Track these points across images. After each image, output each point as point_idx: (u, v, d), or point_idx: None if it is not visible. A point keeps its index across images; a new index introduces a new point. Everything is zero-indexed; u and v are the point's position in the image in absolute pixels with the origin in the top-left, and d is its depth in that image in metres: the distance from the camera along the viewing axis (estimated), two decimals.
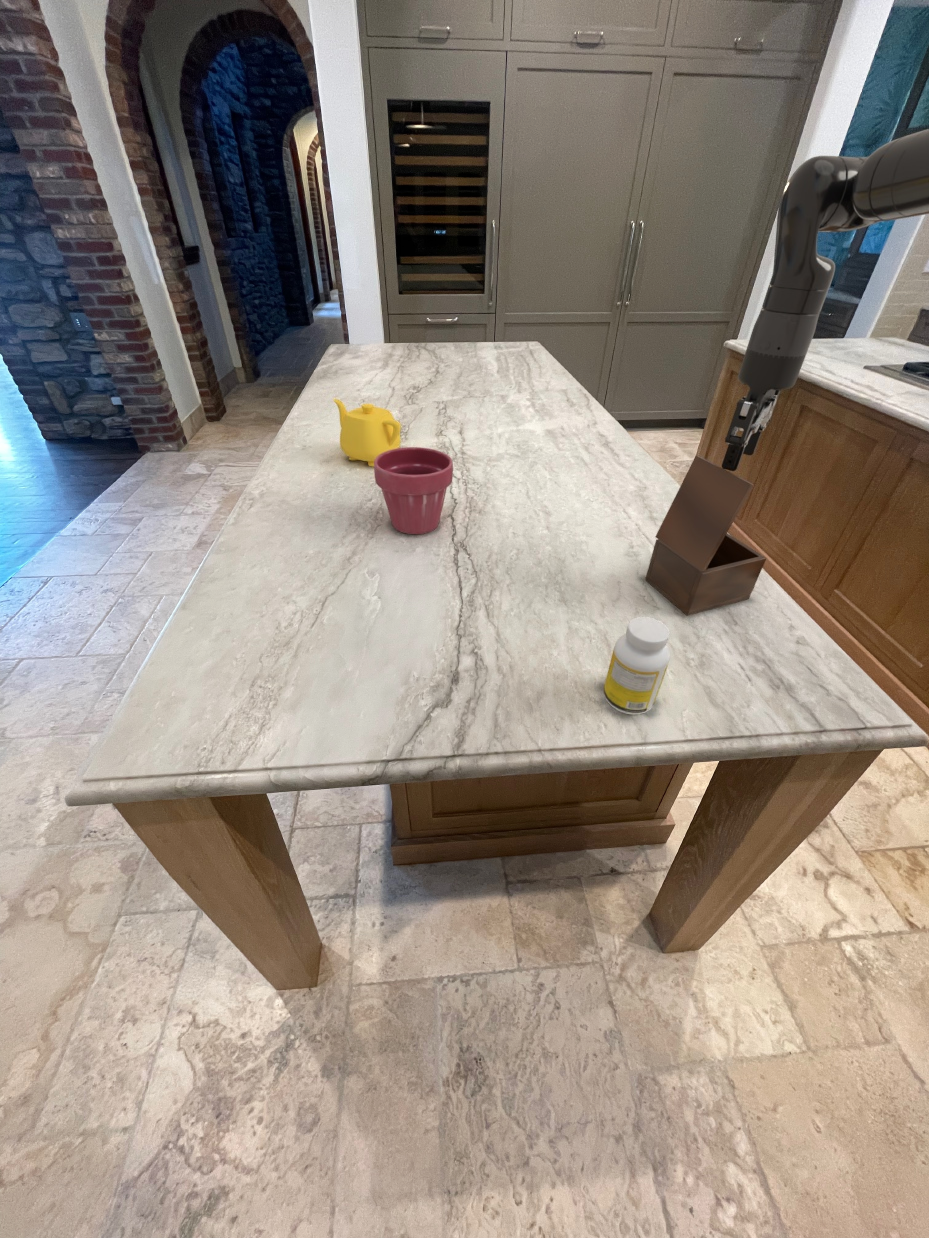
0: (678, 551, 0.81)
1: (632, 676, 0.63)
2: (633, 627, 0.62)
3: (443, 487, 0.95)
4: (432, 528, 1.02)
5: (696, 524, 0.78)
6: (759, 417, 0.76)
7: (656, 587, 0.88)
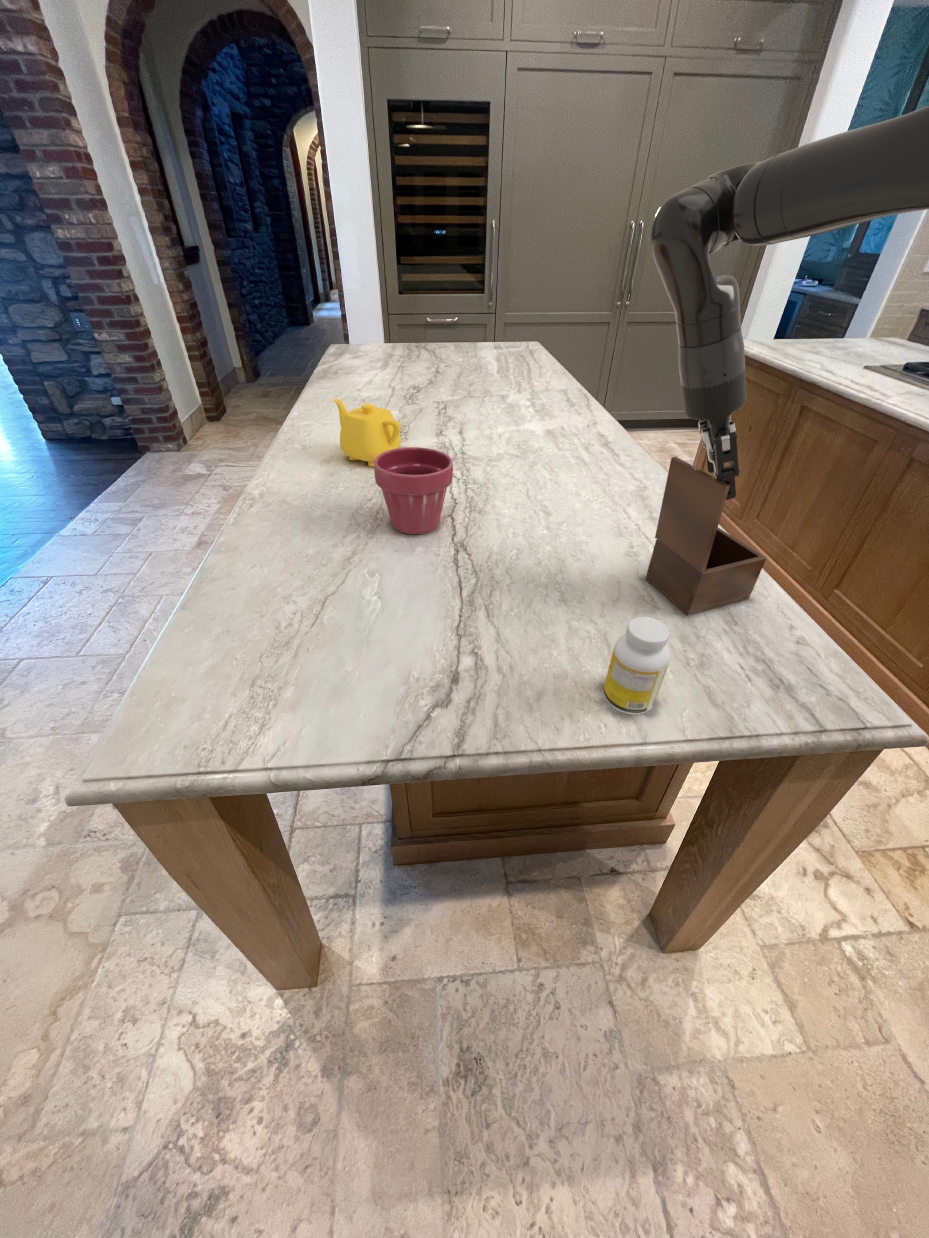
0: (677, 552, 0.81)
1: (632, 676, 0.63)
2: (633, 627, 0.62)
3: (443, 487, 0.95)
4: (432, 528, 1.02)
5: (687, 526, 0.78)
6: None
7: (656, 587, 0.88)
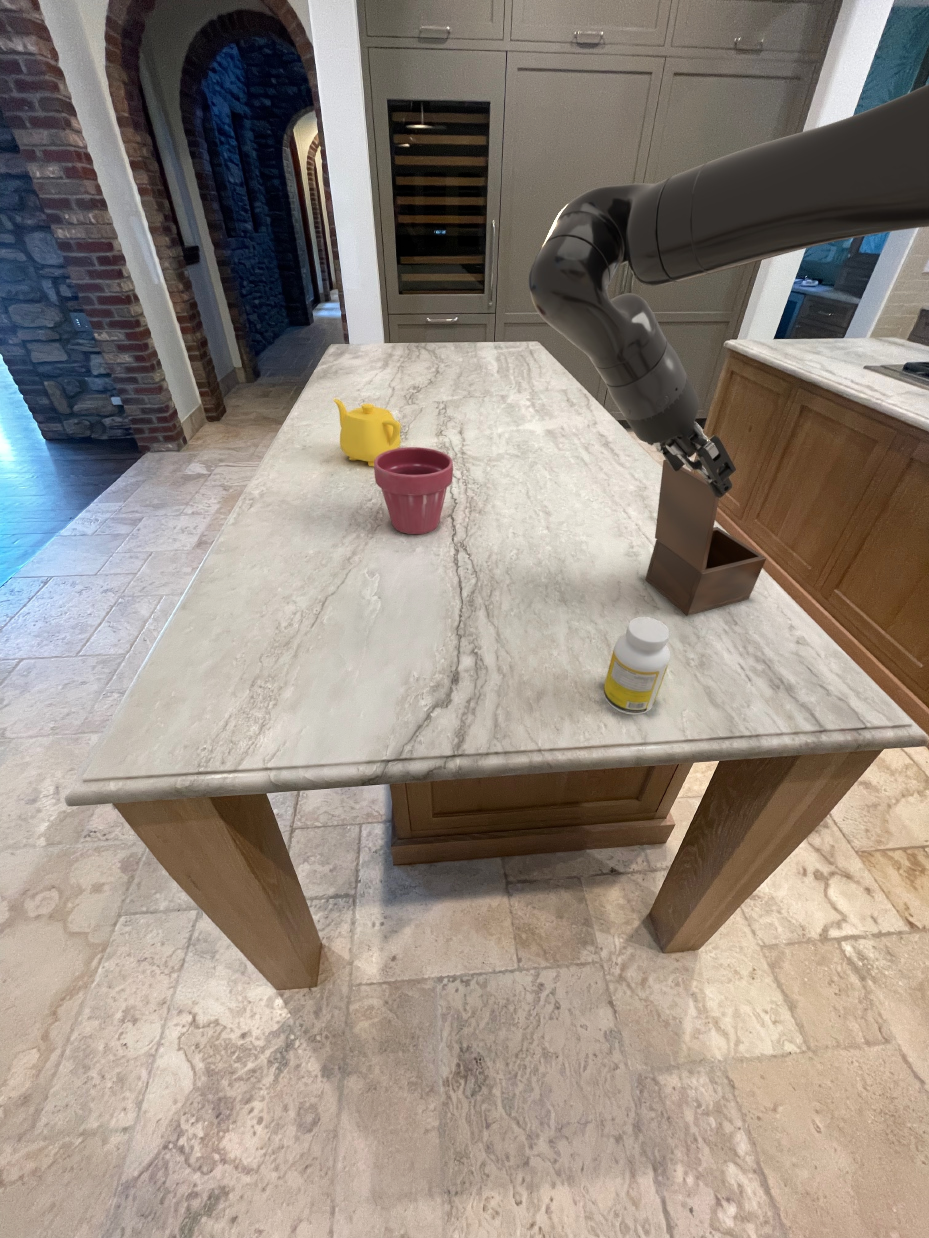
0: (677, 552, 0.81)
1: (632, 676, 0.63)
2: (633, 627, 0.62)
3: (443, 487, 0.95)
4: (432, 528, 1.02)
5: (683, 527, 0.78)
6: (705, 439, 0.62)
7: (656, 587, 0.88)
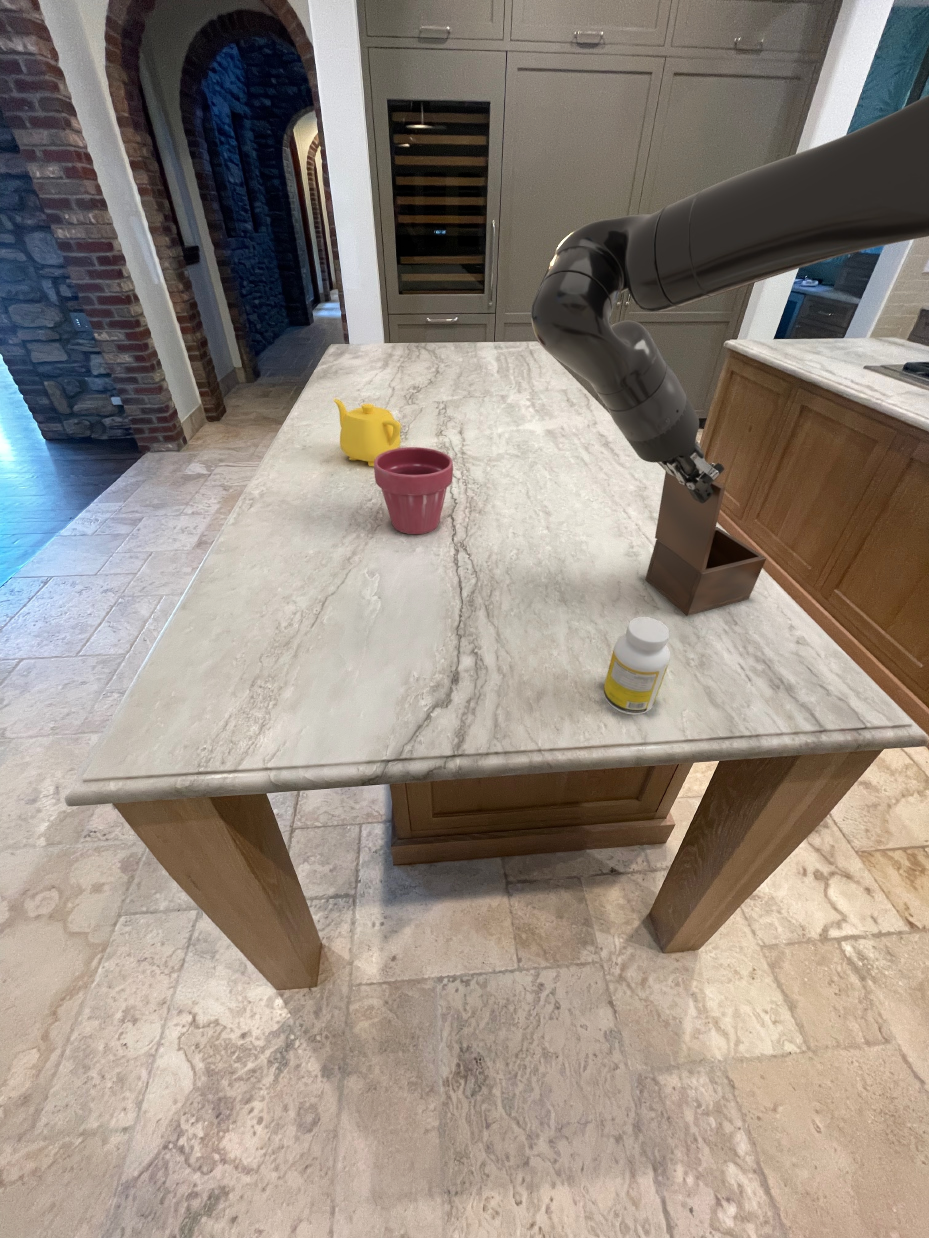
0: (677, 552, 0.81)
1: (632, 676, 0.63)
2: (633, 627, 0.62)
3: (443, 487, 0.95)
4: (432, 528, 1.02)
5: (685, 526, 0.78)
6: None
7: (656, 587, 0.88)
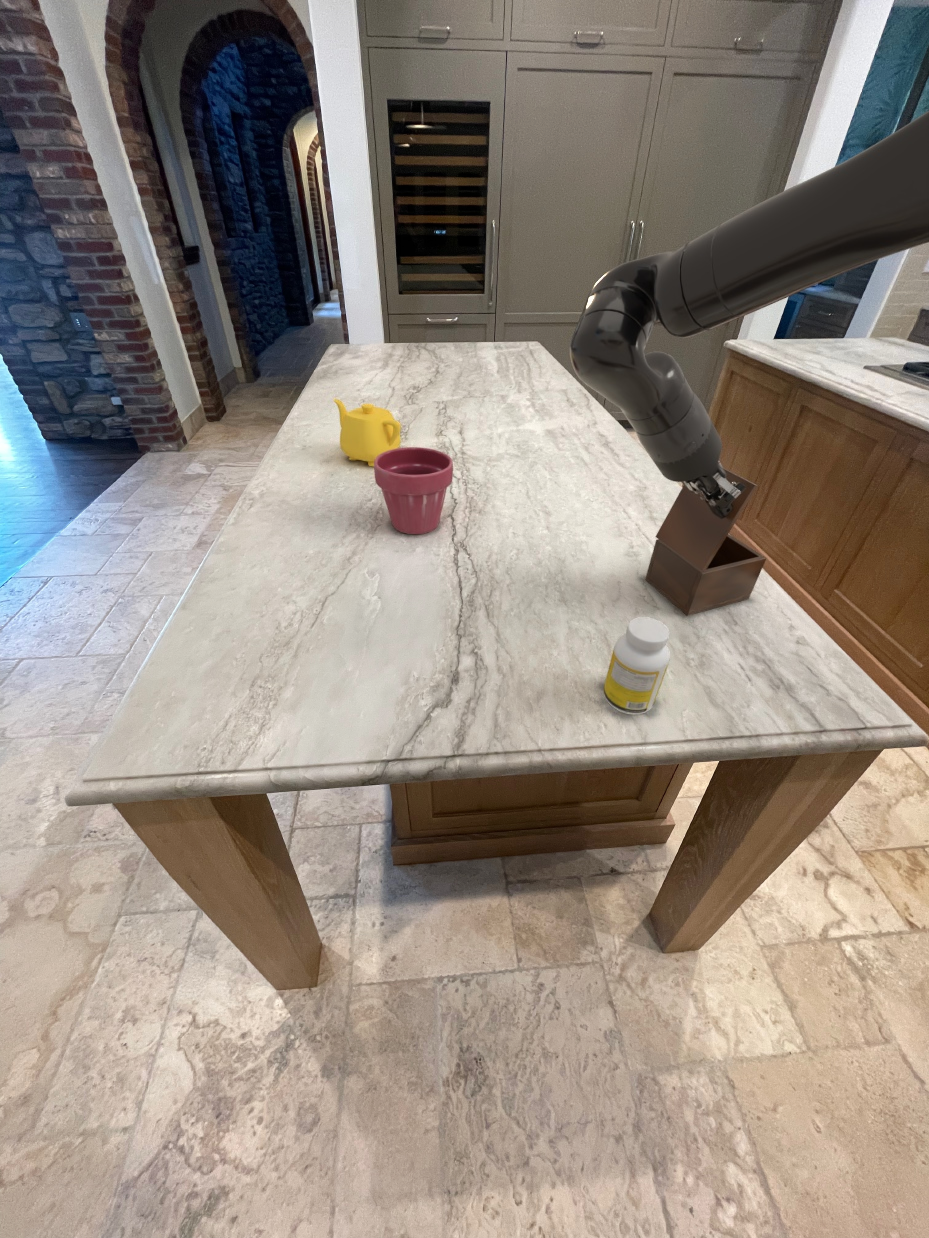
0: (678, 551, 0.81)
1: (632, 676, 0.63)
2: (633, 627, 0.62)
3: (443, 487, 0.95)
4: (432, 528, 1.02)
5: (698, 524, 0.79)
6: None
7: (656, 587, 0.88)
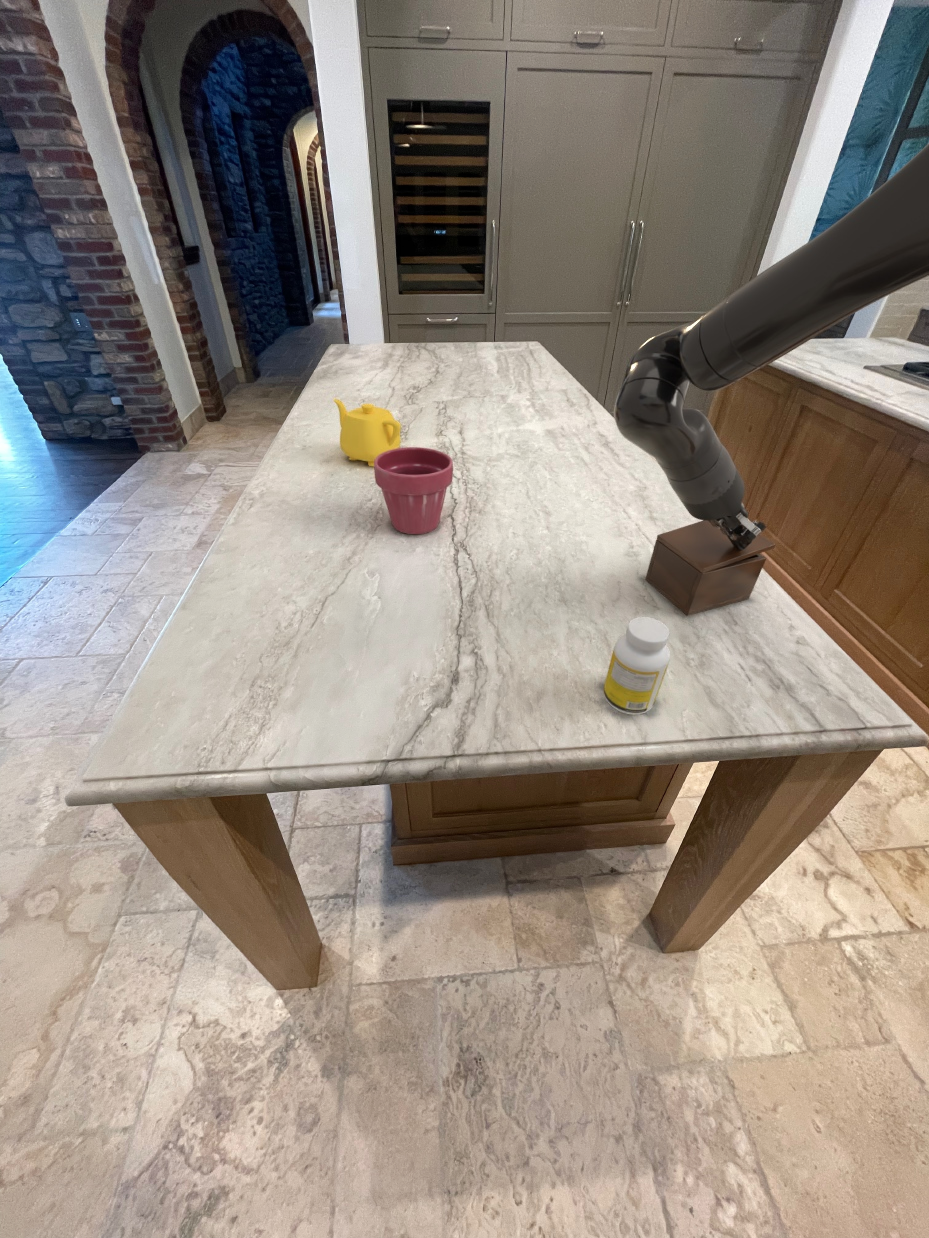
0: (681, 550, 0.81)
1: (632, 676, 0.63)
2: (633, 627, 0.62)
3: (443, 487, 0.95)
4: (432, 528, 1.02)
5: (709, 544, 0.82)
6: None
7: (656, 587, 0.88)
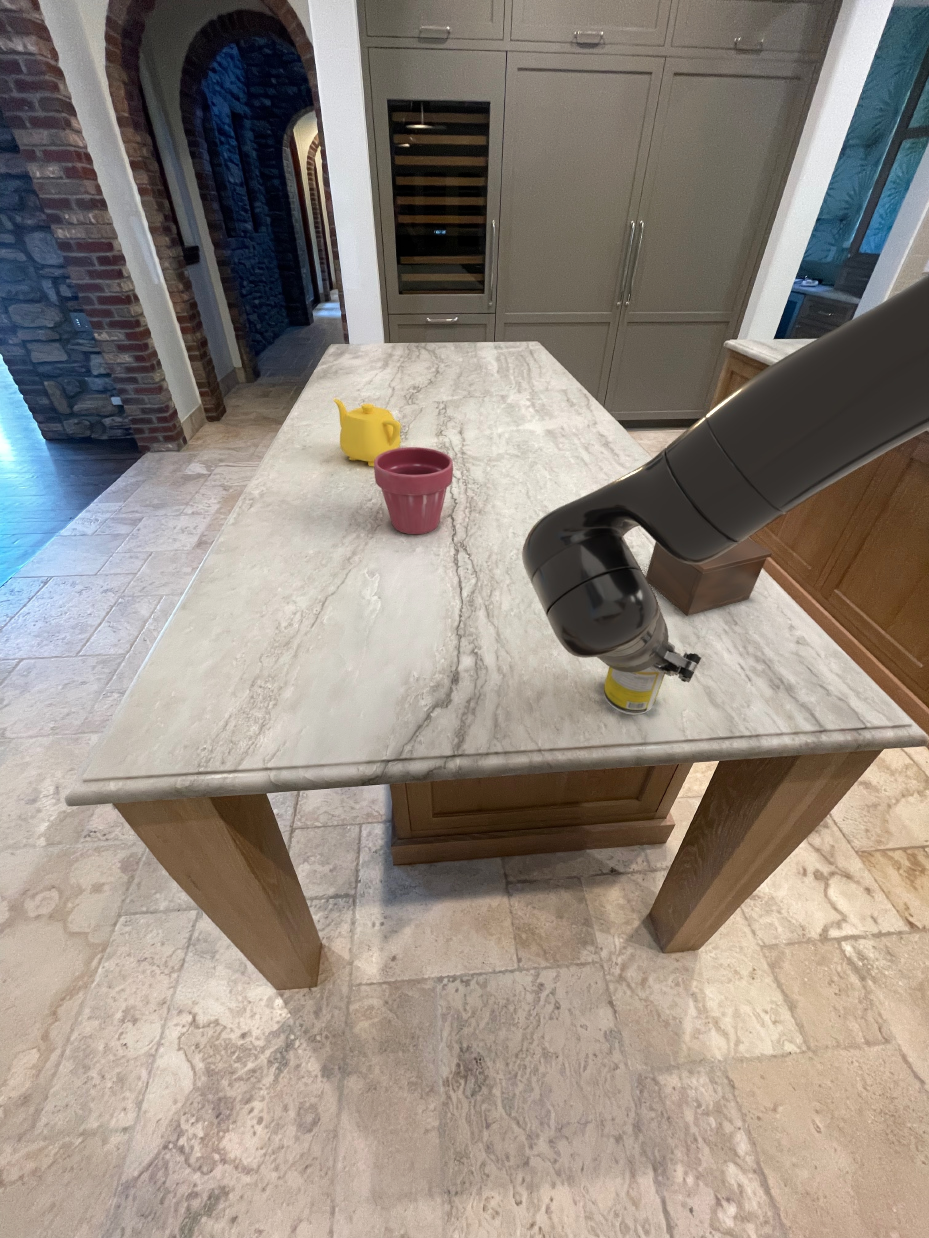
0: None
1: (632, 676, 0.63)
2: None
3: (443, 487, 0.95)
4: (432, 528, 1.02)
5: None
6: None
7: (656, 587, 0.88)
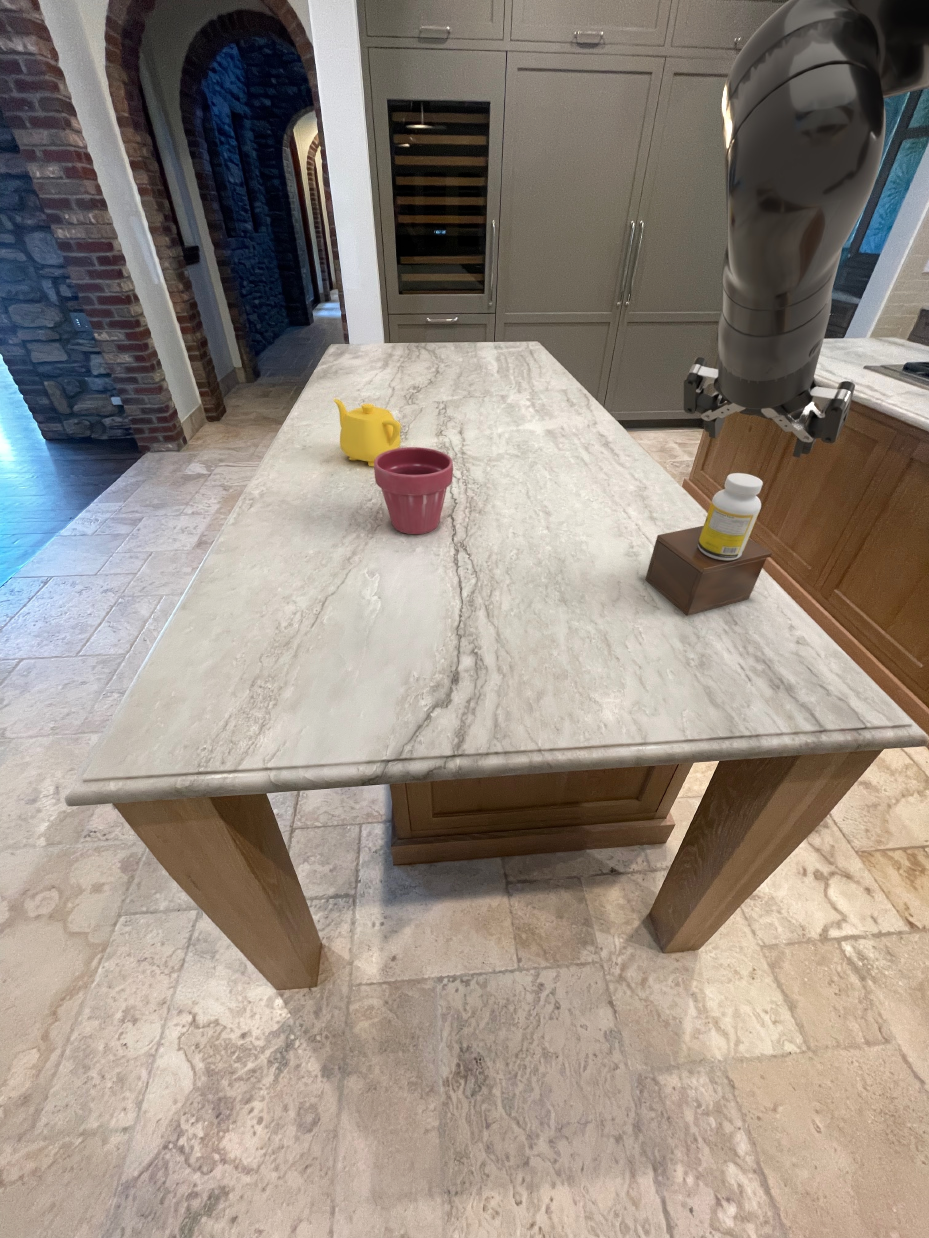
0: (681, 551, 0.82)
1: (730, 521, 0.75)
2: (732, 478, 0.75)
3: (443, 487, 0.95)
4: (432, 528, 1.02)
5: None
6: None
7: (656, 587, 0.88)
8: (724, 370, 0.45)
